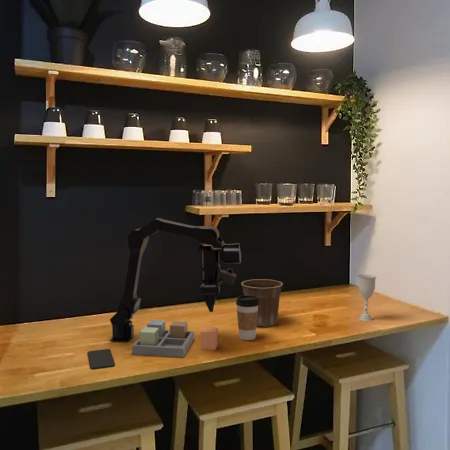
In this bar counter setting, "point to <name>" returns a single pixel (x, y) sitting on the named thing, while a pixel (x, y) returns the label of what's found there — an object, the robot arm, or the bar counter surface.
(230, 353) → the bar counter surface
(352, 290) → the bar counter surface
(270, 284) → the plant pot
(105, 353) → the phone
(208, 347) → the terracotta block
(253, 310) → the coffee cup
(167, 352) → the grid tray
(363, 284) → the chalice
